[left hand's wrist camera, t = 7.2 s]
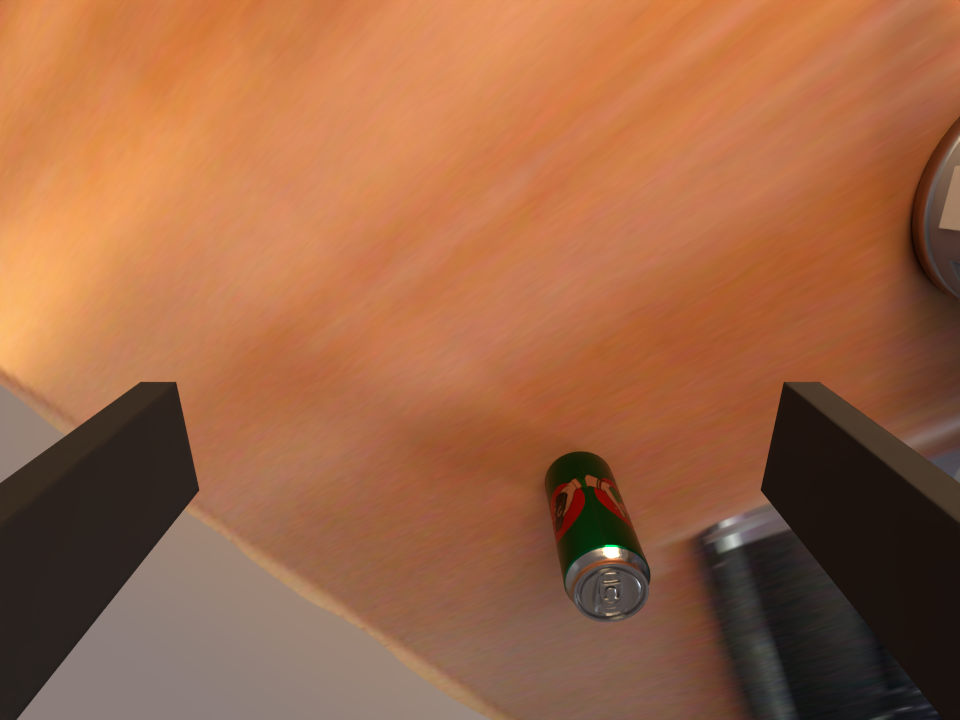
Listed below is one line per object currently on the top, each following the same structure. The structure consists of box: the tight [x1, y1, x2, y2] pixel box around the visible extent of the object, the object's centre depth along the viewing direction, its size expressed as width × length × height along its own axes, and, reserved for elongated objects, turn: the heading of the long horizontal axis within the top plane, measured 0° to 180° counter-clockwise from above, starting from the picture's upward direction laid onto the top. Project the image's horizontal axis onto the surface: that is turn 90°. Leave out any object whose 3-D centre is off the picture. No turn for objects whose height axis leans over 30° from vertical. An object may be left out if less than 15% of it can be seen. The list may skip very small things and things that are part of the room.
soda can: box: [545, 452, 650, 622], centre depth 38 cm, size 5×5×12 cm
